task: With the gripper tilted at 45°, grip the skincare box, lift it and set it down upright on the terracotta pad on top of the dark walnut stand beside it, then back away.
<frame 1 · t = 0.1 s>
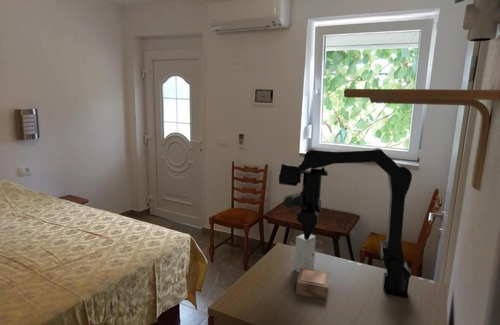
hand: (307, 234, 108), 15 cm above the table, tool pointing down, fingers open, 9 cm apart
walnut stand: (312, 288, 103), on the table
skincare box: (303, 269, 115), on the table
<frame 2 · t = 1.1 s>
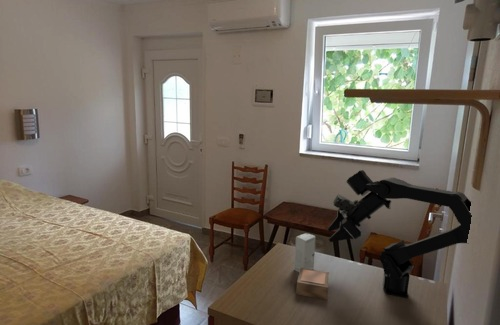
hand: (329, 235, 111), 13 cm above the table, tool tilted 45°, fingers open, 9 cm apart
nothing on the table moved.
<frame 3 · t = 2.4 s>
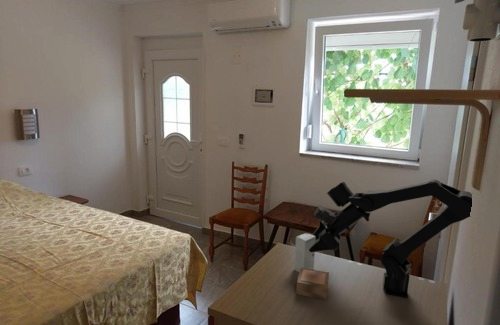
hand: (310, 245, 113), 9 cm above the table, tool tilted 45°, fingers open, 9 cm apart
nothing on the table moved.
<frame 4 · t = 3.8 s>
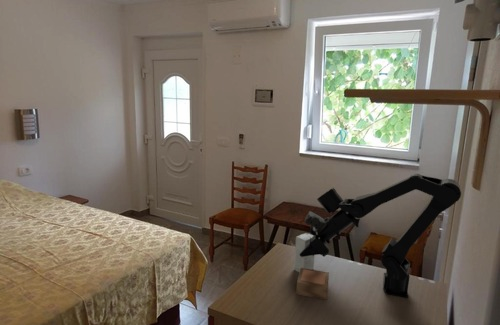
hand: (300, 250, 114), 7 cm above the table, tool tilted 45°, fingers closed on skincare box, 7 cm apart
skincare box: (303, 269, 115), on the table, touching gripper
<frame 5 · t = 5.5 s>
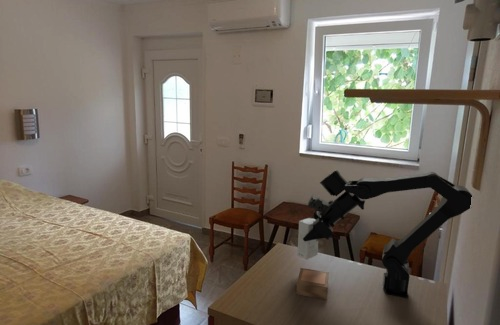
hand: (304, 235, 111), 13 cm above the table, tool tilted 45°, fingers closed on skincare box, 7 cm apart
skincare box: (307, 255, 112), point 6 cm above the table, touching gripper
when the fingers open (12 cm above the table, at t = 7.3 s): skincare box stays where it is, resting on walnut stand.
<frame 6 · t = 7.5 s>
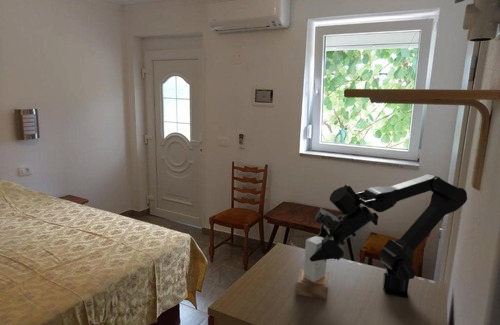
hand: (310, 253, 101), 12 cm above the table, tool tilted 45°, fingers open, 9 cm apart
skincare box: (314, 276, 103), point 4 cm above the table, touching walnut stand
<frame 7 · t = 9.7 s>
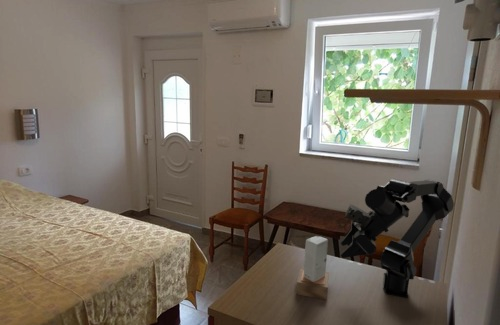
hand: (341, 250, 100), 14 cm above the table, tool tilted 45°, fingers open, 9 cm apart
nothing on the table moved.
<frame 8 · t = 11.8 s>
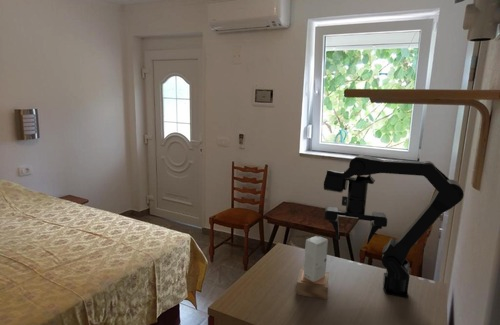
hand: (352, 241, 108), 13 cm above the table, tool pointing down, fingers open, 9 cm apart
nothing on the table moved.
at the end: skincare box 0.3 cm off-centre on the walnut stand, point 4.0 cm above the walnut stand's base; skincare box tilted 0°; the gripper is holding nothing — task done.
